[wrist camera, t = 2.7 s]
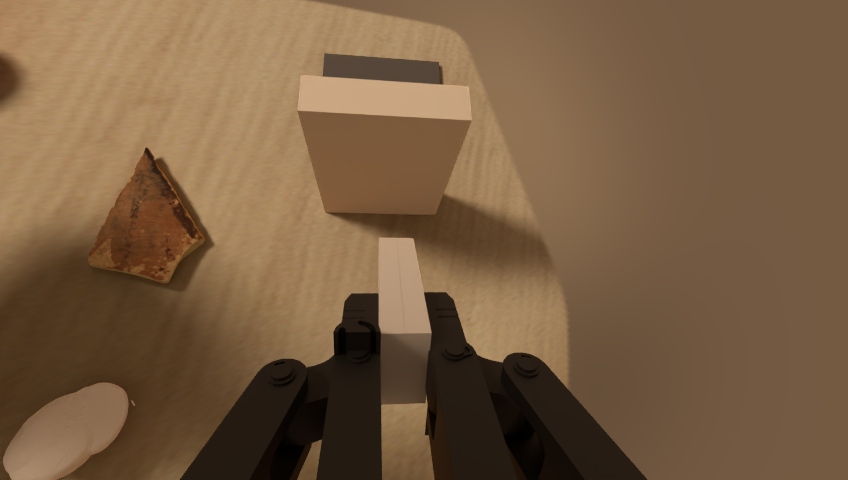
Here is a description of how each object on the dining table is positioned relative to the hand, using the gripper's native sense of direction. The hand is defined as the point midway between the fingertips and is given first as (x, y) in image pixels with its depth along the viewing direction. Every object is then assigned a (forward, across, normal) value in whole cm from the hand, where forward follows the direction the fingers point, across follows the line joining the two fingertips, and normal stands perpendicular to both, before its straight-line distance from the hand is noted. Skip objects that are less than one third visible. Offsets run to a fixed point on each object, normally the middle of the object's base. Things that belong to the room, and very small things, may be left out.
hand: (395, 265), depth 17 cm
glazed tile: (+19, 0, -4) cm, 19 cm away
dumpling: (+6, -20, -16) cm, 27 cm away
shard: (+17, -20, -6) cm, 27 cm away
